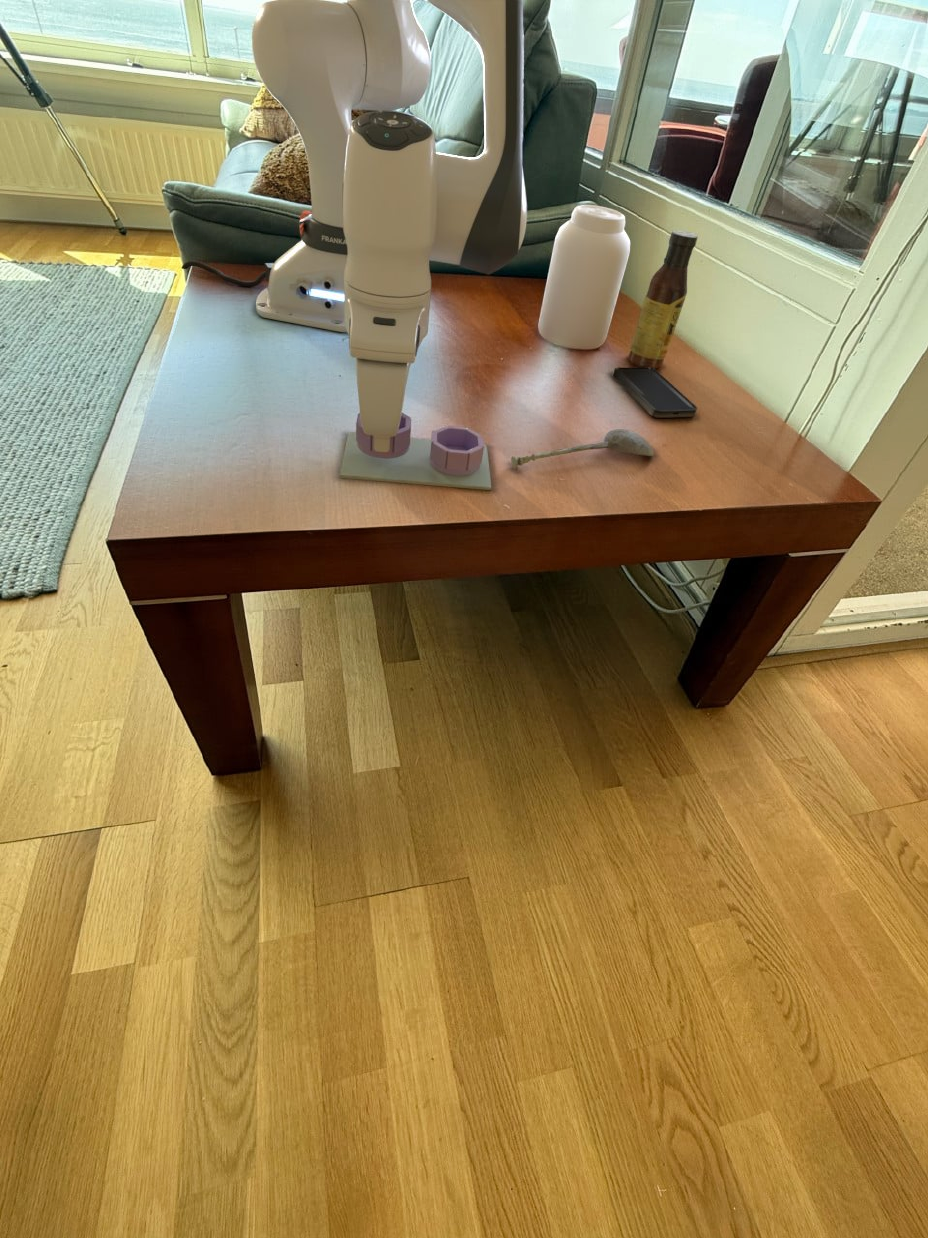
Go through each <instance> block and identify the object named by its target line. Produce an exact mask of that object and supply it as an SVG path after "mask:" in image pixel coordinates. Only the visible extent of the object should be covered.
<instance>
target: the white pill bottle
mask: <svg viewBox="0 0 928 1238" xmlns="http://www.w3.org/2000/svg"><path fill="white" fill-rule="evenodd" d="M625 227H626V216H625V214H623V213H622V212H620V211H618V210H616V209H614V208H610V207H606V206H601V205H595V204H580V205H576V207H574V209H573V210H572V212H571V218H570V219H569V220H567V221H566V222H564V223H563V224H561V226H560V227H559V228H558V231H557V233H556V235H555V238H554V243H553V247H552V251H551V253H552V254H551V258H550V263H549V268H548V273H547V279H546V283H545V288H544V293H543V299H542V303H541V308H540V313H539V319H538V323H537V328H538V333H539V335H540V337H542V338H543V339H544V340H547V341H548V342H549V343H552V344H554V345H557V346H559V347H563V348H567V349H573V350H594V349H598V348H600V347H602V346H603V344H604V343H605V342H606V340H607V337H608V333H609V331H610V326H611V322H612V320H613V315H614V311H615V307H616V305H617V300H618V298H619V293H620V289H621V287H622V282H623V278H624V275H625V271H626V268H627V264H628V260H629V258H630V257H629V256H630V253H631V240H630V237H629V235H628V233H627V231H626V230H625Z"/></svg>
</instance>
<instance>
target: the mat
mask: <svg viewBox="0 0 928 1238" xmlns="http://www.w3.org/2000/svg"><path fill="white" fill-rule="evenodd" d="M430 443H431V439H426V438H415V437H410V448H409V450H408V452H407V453H406V454H404V455H402V456H400V457H397V458H390V459H382V458H376V457H372V456H369V455H367V454H365V453H363V452H362V451H361V450H360V449H359V448H358V446H357V441H356V432H347V437H346V443H345V448H344V451H343V452H344V453H343V459H342V463H341V467H340V473H339V478H341V479H349V480H350V479H351V480H352V479H353V480H362V481H363V480H364V481H374V482H375V481H376V482H388V483H397V484H399V483H400V484H409V485H411V484H412V485H422V486H423V485H424V486H436V487H448V488H458V489H459V488H461V489H472V490H483V491H491V490H492V480H491V472H490V464H489V463H490V462H489V452H488V445H487V444H484V451H483V457H482V463H481V465H480V468H479V469H478V470H477V471H476V472H475V473H473V474H470V475H466V476H452V475H447V474H444V473H442V472H439V471H438V470H436V469H435V468H434V467H433V466H432V465H431V464H430V460H429V458H430Z"/></svg>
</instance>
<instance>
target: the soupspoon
mask: <svg viewBox="0 0 928 1238" xmlns="http://www.w3.org/2000/svg"><path fill="white" fill-rule="evenodd" d="M602 449H609V450H612V451H618V452H621V453H627V454H632V455H639V456H646V457H654V456H655V451H654V450H653V448H652V446H651V444H650V443H649V442H648V441H647V439H645V438H644V437H643V436H642V435H640V434H639V433H636V432H635V431H632V430H630V429H629V430H628V429H625V428H624V429H622V428H618V429H617V428H616V429H612V430H609V431H607V432H605V435H604V437H603V442H596V443H595V442H594V443H587V444H581V445H576V446H571V447H566V448H562V449H561V448H560V449H556V450H551V451H546V452H542V453H537V454H535V453H531V454H530V455H524V456H517V458H516V457H515V456H514V455H512V456H511V457H510V462H511V465H512V468H513V469H514V470H518V466H523V464H526V463H529V462H531V461H533V462H535V461H536V460H539V459H544V458H549V457H555V456H561V455H566V454H572V453H576V452H583V451H591V450H602Z"/></svg>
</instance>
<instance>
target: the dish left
mask: <svg viewBox="0 0 928 1238" xmlns="http://www.w3.org/2000/svg"><path fill="white" fill-rule="evenodd" d="M355 433H356V441H357V446H358V448H359V449H360V450H361V451H362V452H363V453H365V454H367V455H369V456H372V457H376V458H382V459H390V458H397V457H400V456H402V455H404V454H406V453H407V452H408V450H409V448H410V438H411V436H412V417H411V416H409V415H408V414H406V413H405V412H402V414H401V420H400V425H399V429H398V432H397V434H396V436H394V437H390V448H389V451H388V452H377V451H375V450H374V436H373V435H367V434H365V433H364V431H363V428H362V425H361V419H360V411H359V412H358V413H357V416H356V422H355Z"/></svg>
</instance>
